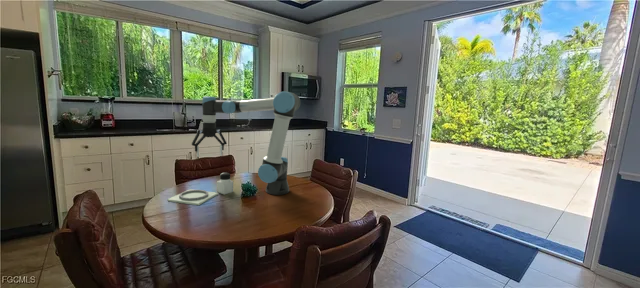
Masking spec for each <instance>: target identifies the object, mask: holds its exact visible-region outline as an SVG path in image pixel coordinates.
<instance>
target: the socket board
mask: <svg viewBox="0 0 640 288" xmlns="http://www.w3.org/2000/svg"><path fill="white" fill-rule="evenodd" d="M217 195H219V193H218V192H217V191H216V192H214V191H207V190H204V189H193V188H192V189H187V190H185V191H183V192H180V193H178V194H176V195H174V196H172V197H170V198H169V197H168V198H167V201H168V202H172V203H179V204H187V205H193V206H200V205H202V204H204V203H206V202H207V201H209V200H211V199H213V198H215V197H216V196H217Z"/></svg>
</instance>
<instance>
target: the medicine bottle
mask: <svg viewBox="0 0 640 288" xmlns="http://www.w3.org/2000/svg"><path fill="white" fill-rule="evenodd" d="M233 192H234V181H233V180H231V173H229V172H222V173H220V174H219V180H217V181H216V193H218V194H222V195H227V194H231V193H233Z"/></svg>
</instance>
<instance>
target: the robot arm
mask: <svg viewBox="0 0 640 288" xmlns="http://www.w3.org/2000/svg"><path fill="white" fill-rule="evenodd" d="M201 105H202V130H201V129H197V130H196V134H195V136H194V138H193V140H192V142H191V146H193V147H194V151H195V152H196V157H197V158H199V157H200V147H199V145H200V144H201V143H202V141H203V140H204V139H206V138H215V139H216V141H217V142H218V143H219V144H220V145H219V156H221V157H222V156H223V151H224V150H225V149H224V148H225V147H224V146H225V145H227V144H228V143H227V141H226V139H225V137H224V134H222V130H221V129H217V123H216V122H217V113H218V114H239V113H250V112H253V113H254V112H264V111H265V112H266V111H273V112H272V113H273V115H274V121H273V125H272V131H271V135H270V139H269V143H268V149H267V153H266V155H265V156H263V159H262V163H261V164H262V165H260V166H259V168H258V170H257V175H258V177H259V179H260V180H261V181H262V182H264V183H266V187H265V192H266V193H267V194H269V195H273V196H281V195H286V194H288V193H289V192H290V186H289V183H288V168H289V167H288V164H289V161H288V158H287V157H286V156H282V155H283V151H284V148H285V144H286V143H285V142H286V138H287V135H288V134H287V133H288V130H289V126H290V125H289V124H290V121H291V119H293V118H294V115H295V112H296V111H297V110H298V109H299V108H300V106H301V99H300V96H299V95H297V94H296V93H294V92H290V91H280V92H278V93H276V94H275V96H274V97H269V98H268V97H267V98H258V99H257V98H255V99H246V100H245V99H244V100H219V99H217V100H216V97H215V96H203V97H202V104H201ZM201 134H202V135H201ZM216 134H218V135H219V137H220V138H221V139H220V138H219V137H218V136H217V135H216ZM200 135H201V136H200ZM199 136H200V138H199Z"/></svg>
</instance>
